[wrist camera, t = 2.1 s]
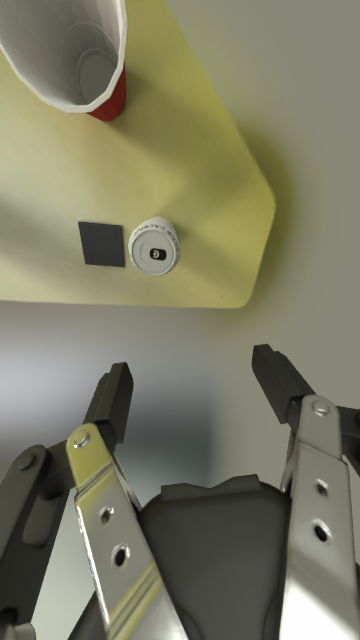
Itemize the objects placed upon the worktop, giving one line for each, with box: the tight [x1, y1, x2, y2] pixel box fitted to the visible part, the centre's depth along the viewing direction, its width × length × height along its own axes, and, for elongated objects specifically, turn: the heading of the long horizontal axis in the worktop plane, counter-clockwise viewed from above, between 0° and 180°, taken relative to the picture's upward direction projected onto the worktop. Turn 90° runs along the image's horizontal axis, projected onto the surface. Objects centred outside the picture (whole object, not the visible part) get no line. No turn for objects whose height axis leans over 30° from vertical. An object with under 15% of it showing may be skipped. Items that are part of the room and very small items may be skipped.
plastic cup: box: [0, 0, 128, 121], centre depth 18 cm, size 11×11×12 cm
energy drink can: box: [128, 217, 180, 276], centre depth 26 cm, size 6×6×15 cm
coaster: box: [78, 222, 124, 267], centre depth 33 cm, size 7×7×1 cm
